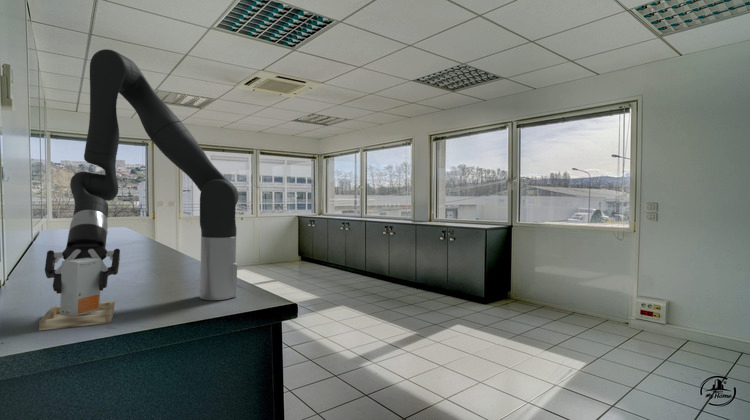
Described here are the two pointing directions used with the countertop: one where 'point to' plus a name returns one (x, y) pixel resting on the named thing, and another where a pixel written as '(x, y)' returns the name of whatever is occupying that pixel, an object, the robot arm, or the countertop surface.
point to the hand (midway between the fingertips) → (80, 290)
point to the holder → (77, 317)
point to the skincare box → (80, 286)
